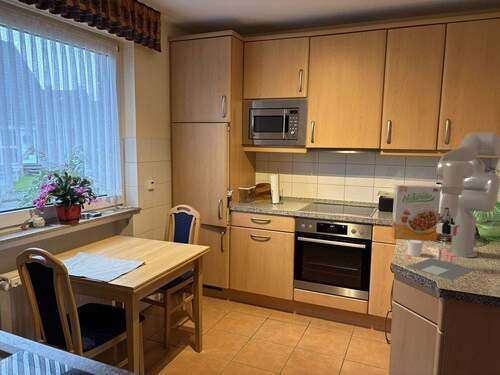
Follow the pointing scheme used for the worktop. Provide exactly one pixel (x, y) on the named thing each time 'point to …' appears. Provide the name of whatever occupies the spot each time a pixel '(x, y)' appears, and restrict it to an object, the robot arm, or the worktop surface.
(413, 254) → the white cup
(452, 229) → the card box
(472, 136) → the robot arm
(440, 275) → the mat
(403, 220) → the cereal box
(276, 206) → the worktop surface
